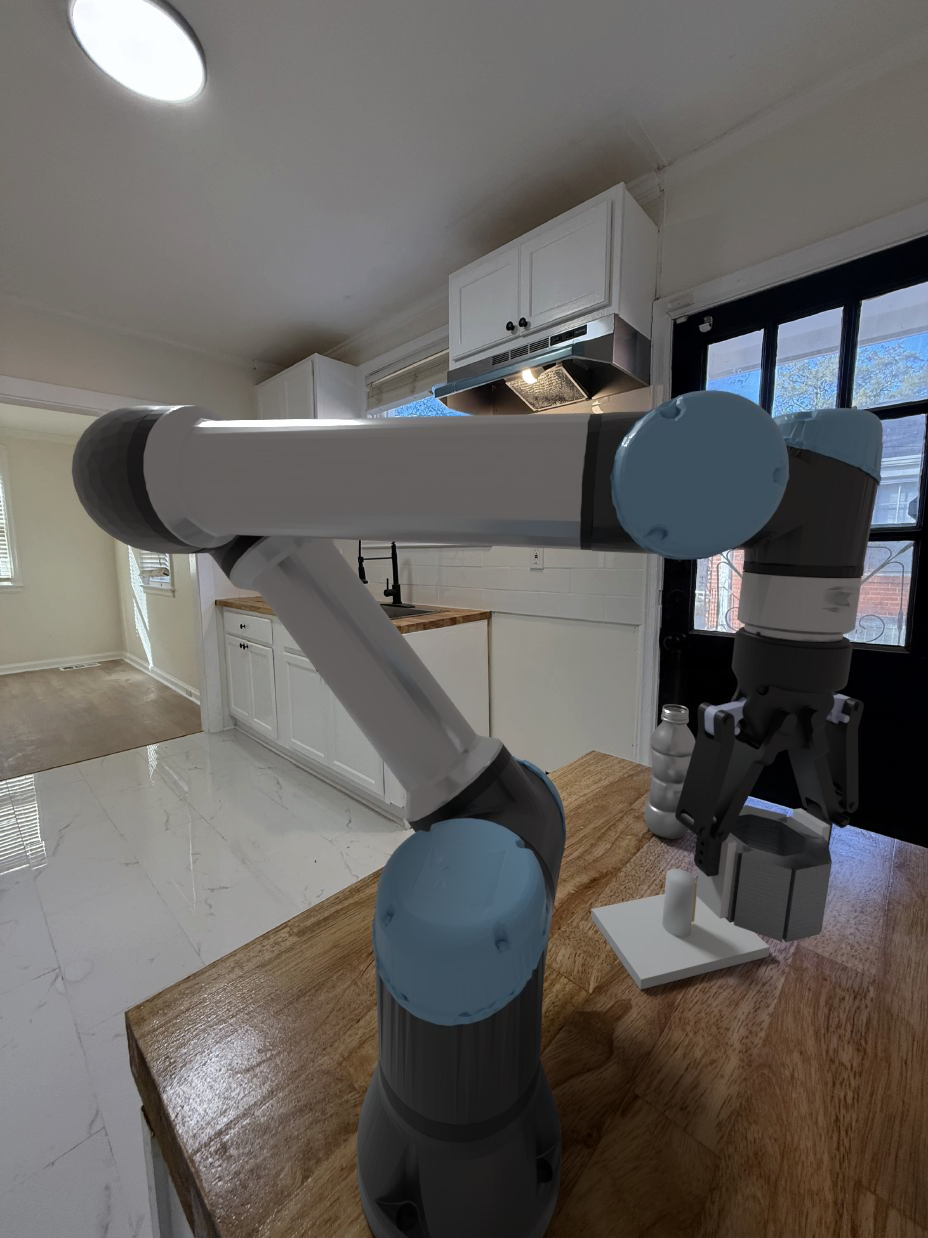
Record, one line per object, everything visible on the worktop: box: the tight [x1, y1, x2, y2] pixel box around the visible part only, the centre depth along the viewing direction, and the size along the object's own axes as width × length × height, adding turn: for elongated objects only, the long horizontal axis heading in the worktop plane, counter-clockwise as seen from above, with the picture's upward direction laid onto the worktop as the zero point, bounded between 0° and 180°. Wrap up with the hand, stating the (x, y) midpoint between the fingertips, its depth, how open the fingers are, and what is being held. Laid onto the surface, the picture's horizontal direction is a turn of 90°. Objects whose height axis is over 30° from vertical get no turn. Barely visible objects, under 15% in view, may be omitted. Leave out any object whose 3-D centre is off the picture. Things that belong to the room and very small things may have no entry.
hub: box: [713, 804, 833, 943], centre depth 42 cm, size 8×8×6 cm
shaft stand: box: [590, 868, 770, 990], centre depth 57 cm, size 16×10×8 cm, turn 105°
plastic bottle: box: [644, 703, 696, 840], centre depth 76 cm, size 6×7×20 cm
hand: (757, 895), depth 42 cm, fingers closed on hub, 8 cm apart
